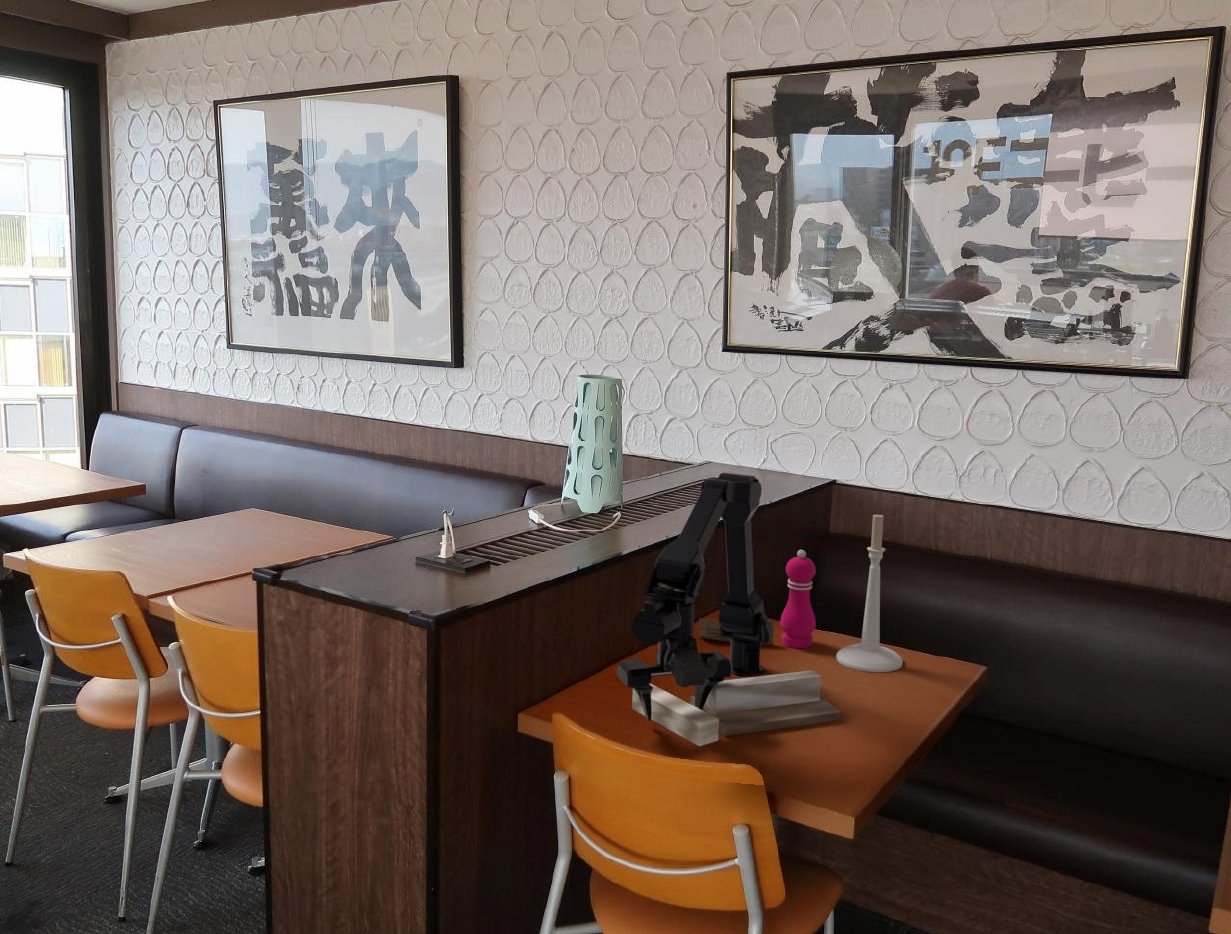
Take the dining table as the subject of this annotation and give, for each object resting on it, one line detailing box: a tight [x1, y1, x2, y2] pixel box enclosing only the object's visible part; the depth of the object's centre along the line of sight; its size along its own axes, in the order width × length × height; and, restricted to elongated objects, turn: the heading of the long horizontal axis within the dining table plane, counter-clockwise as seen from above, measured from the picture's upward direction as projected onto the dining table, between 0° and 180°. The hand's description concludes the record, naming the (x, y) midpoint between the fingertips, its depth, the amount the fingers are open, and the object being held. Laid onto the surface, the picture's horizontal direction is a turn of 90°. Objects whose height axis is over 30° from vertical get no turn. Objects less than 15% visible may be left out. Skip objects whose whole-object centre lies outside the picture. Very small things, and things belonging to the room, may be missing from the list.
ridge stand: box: [689, 669, 842, 737], centre depth 180 cm, size 14×22×6 cm, turn 109°
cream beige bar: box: [631, 683, 719, 747], centre depth 175 cm, size 18×4×4 cm, turn 36°
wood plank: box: [698, 617, 775, 645], centre depth 216 cm, size 15×2×5 cm, turn 83°
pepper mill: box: [779, 549, 817, 649], centre depth 215 cm, size 7×7×20 cm
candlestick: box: [835, 513, 904, 673], centre depth 205 cm, size 13×13×30 cm
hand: (673, 717), depth 175 cm, fingers open, 9 cm apart
